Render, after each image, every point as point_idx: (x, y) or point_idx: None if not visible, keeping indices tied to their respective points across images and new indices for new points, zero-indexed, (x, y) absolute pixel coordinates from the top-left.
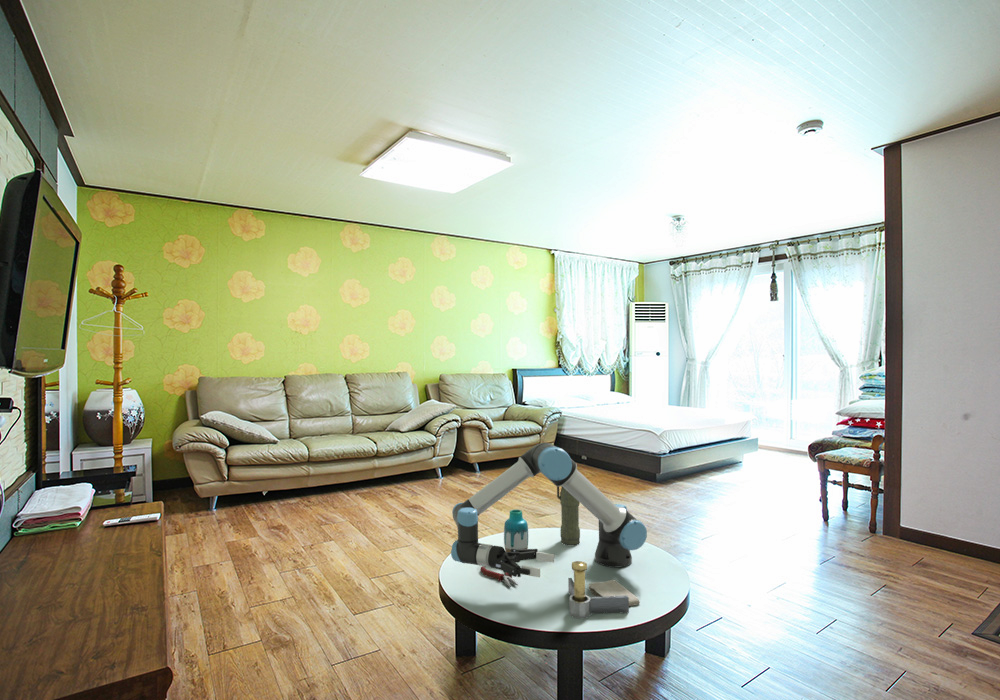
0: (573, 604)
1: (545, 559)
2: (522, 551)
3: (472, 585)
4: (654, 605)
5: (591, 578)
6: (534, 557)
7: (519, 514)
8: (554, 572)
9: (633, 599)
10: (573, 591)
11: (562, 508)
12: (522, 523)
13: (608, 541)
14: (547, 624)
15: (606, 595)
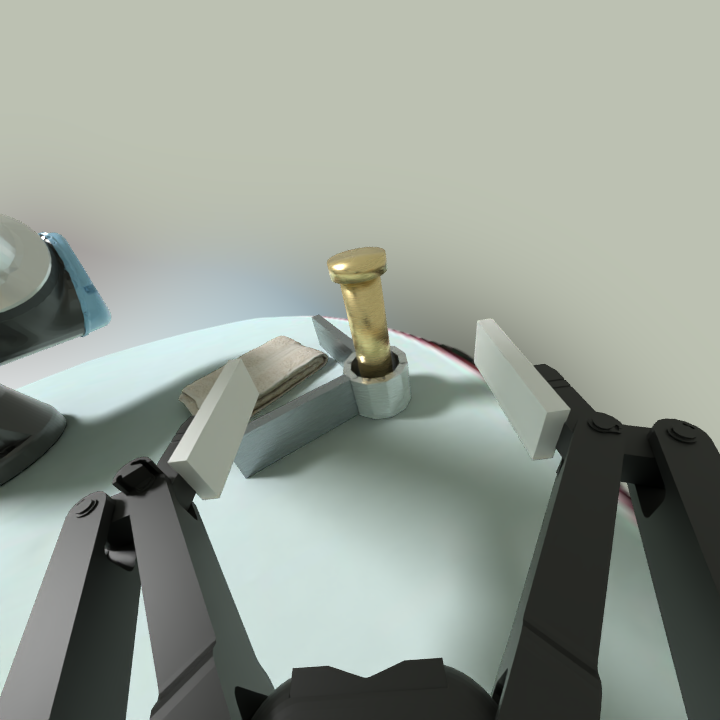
0: (407, 371)
1: (238, 425)
2: (70, 693)
3: None
4: (283, 330)
5: (132, 459)
6: (194, 514)
7: None
8: (8, 639)
9: (286, 338)
10: (317, 404)
11: None
12: None
13: None
14: (506, 433)
15: (286, 367)
